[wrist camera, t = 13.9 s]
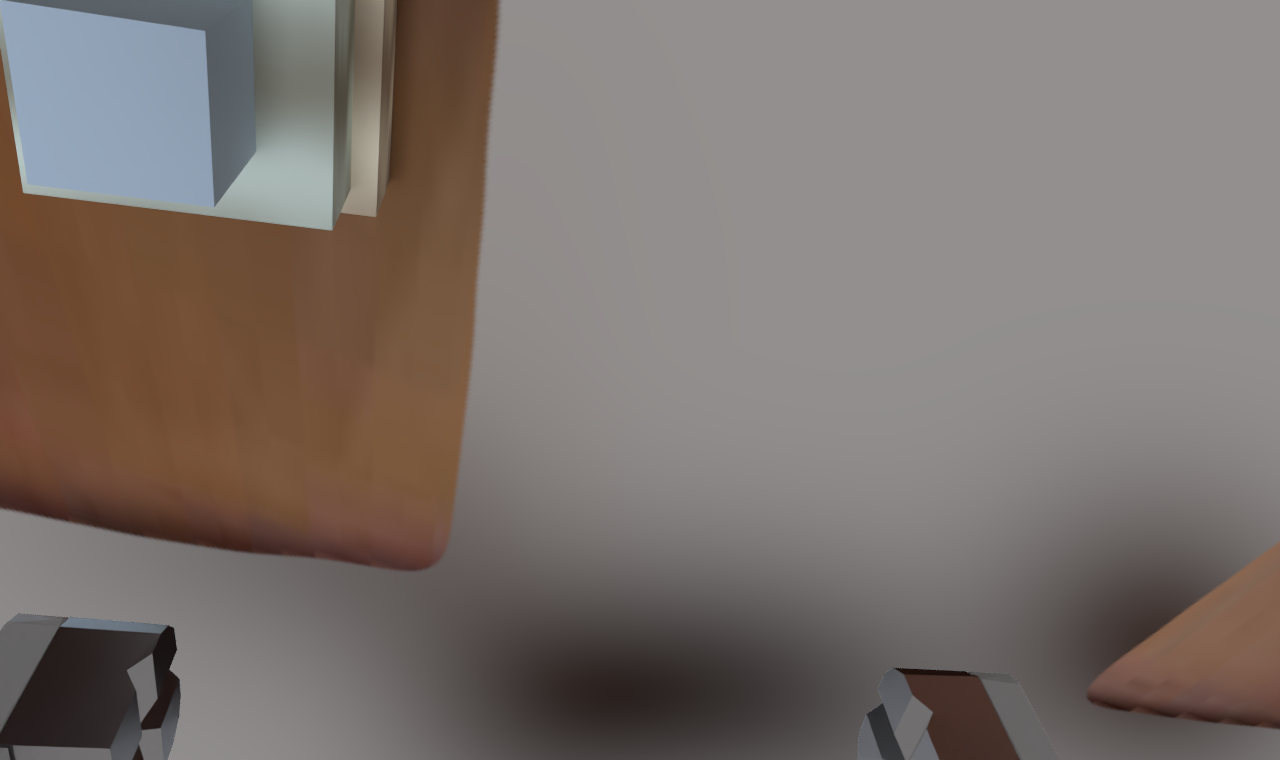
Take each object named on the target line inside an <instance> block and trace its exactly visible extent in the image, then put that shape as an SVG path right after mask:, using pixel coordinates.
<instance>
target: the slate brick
mask: <svg viewBox="0 0 1280 760" xmlns="http://www.w3.org/2000/svg"><path fill="white" fill-rule="evenodd" d="M0 8H1V15H2V21H3V28H4V34H5V41H6V47H7V54H8V60H9V67H10V73H11V80H12V86H13V93H14V99H15V106H16V112H17V119H18V125H19V132H20V138H21V145H22V151H23V158H24V164H25V171H26V177H27V184H28V185H37V186H45V187H53V188H61V189H69V190H77V191H85V192H93V193H101V194H109V195H118V196H126V197H134V198H142V199H150V200H158V201H166V202H174V203H182V204H190V205H199V206H207V207H215V206H216V205H217V203H218V202H219V201H220V199H221V198H222V197H223V195H224V194H225V193H226V191H227V190H228V189H229V187H230V186H231V185H232V183H233V182H234V181H235V179H236V178H237V177H238V175H239V174H240V173H241V171H242V170H243V169H244V167H245V166H246V165H247V163H248V162H249V161H250V159H251V158H252V156H253V155H254V154H255V152H256V125H255V89H254V54H253V18H252V0H0Z"/></svg>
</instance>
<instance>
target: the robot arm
mask: <svg viewBox="0 0 1280 760" xmlns="http://www.w3.org/2000/svg"><path fill="white" fill-rule="evenodd" d="M176 651H177V646H176V638H175V630H174V628H173V627H171V626H169V625H159V624H147V623H135V622H123V621H111V620H99V619H86V618H75V617H70V618H67V617H53V616H41V615H28V614H17V615H16V616H14V618H12V619H11V620H10V621H8V622H7V623H6V624H5V625H4V626H3V627H2V629H1V630H0V760H167V759H168V756H169V753H170V751H171V748H172V745H173V741H174V737H175V733H176V728H177V723H178V719H179V711H180V698H181V693H180V679H179V678H178V677H177V676H176V675H175V674H174V673H173V672H171V671H170V670H169V669H170V666H171V664H172V661H173V659H174V656H175V654H176ZM878 691H879V694H880V696H881V699H882V702H883V703H882V704H880V705H879V706H878V707H876V708H875V709H873V710H872V711H870V712H869V713H867V714H866V717H865V719H864V722H863V724H862V727H861V730H860V733H859V742H858V760H1060V758H1059V756H1058V754H1057V753H1056V750H1055V748H1054V747H1053V745H1052V743H1051V741H1050V739H1049V737H1048V736H1047V734H1046V732H1045V730H1044V728H1043V726H1042V724H1041V723H1040V721H1039V719H1038V717H1037V715H1036V713H1035V712H1034V710H1033V708H1032V706H1031V704H1030V702H1029V701H1028V699H1027V697H1026V695H1025V693H1024V691H1023V689H1022V688H1021V686H1020V684H1019V683H1018V681H1017V680H1016V679H1015V678H1013V677H1012V676H1011V675H1010V674H1004V673H985V672H966V671H952V670H931V669H930V670H929V669H909V668H892V669H891V670H889V671H888V672H887V673H886V674H885V675H884V677H883V679H882V681H881V683H880V685H879V687H878Z"/></svg>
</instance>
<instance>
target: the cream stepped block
mask: <svg viewBox="0 0 1280 760" xmlns="http://www.w3.org/2000/svg"><path fill="white" fill-rule="evenodd" d="M396 17H397V0H252V18H253V54H254V89H255V125H256V152H255V154H254V155H253V156H252V158H251V159H250V161H249V162H248V163H247V165H246V166H245V167H244V169H243V170H242V171H241V173H240V174H239V175H238V177H237V178H236V179H235V181H234V182H233V183H232V185H231V186H230V187H229V189H228V190H227V191H226V193H225V194H224V195H223V197H222V198H221V199H220V201H219V202H218V203H217V205H216V206H215V207H207V206H199V205H190V204H182V203H174V202H166V201H158V200H150V199H142V198H134V197H126V196H118V195H109V194H101V193H93V192H85V191H77V190H69V189H61V188H53V187H45V186H37V185H28V184H27V177H26V171H25V164H24V158H23V151H22V145H21V138H20V132H19V125H18V119H17V112H16V106H15V99H14V93H13V86H12V80H11V73H10V67H9V60H8V54H7V47H6V41H5V34H4V28H3V21H2V15H1V8H0V48H1V54H2V60H3V67H4V73H5V79H6V86H7V92H8V98H9V105H10V111H11V118H12V124H13V130H14V137H15V143H16V149H17V156H18V162H19V168H20V175H21V181H22V187H23V193H29V194H38V195H46V196H54V197H62V198H70V199H79V200H87V201H95V202H103V203H111V204H120V205H128V206H136V207H144V208H152V209H161V210H169V211H177V212H185V213H193V214H201V215H210V216H218V217H226V218H234V219H242V220H251V221H259V222H267V223H275V224H283V225H292V226H300V227H308V228H316V229H324V230H333V228H334V225H335V223H336V221H337V219H338V217H339V214H340V213H348V214H356V215H364V216H372V217H376V216H377V213H378V211H379V208H380V205H381V202H382V200H383V197H384V194H385V191H386V189H387V186H388V183H389V174H390V151H391V129H392V107H393V84H394V62H395V39H396Z"/></svg>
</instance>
